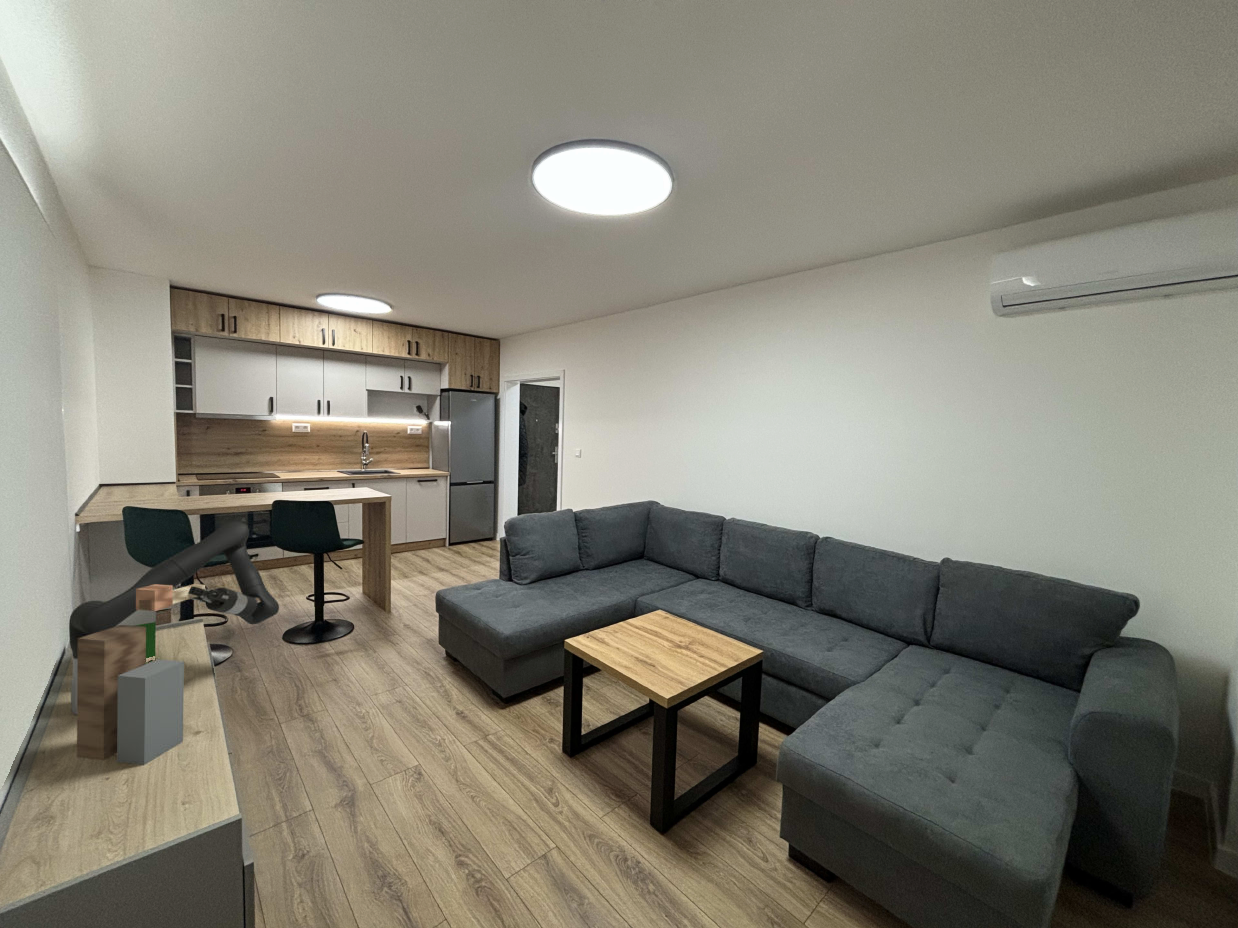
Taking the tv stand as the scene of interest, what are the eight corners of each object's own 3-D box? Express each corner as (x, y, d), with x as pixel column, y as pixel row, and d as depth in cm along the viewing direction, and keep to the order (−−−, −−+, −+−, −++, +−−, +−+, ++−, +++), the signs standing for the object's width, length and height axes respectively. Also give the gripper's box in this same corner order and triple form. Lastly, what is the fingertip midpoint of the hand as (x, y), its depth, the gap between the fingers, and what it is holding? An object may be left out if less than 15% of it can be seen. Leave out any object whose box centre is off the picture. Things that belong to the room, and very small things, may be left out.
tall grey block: (157, 738, 135) (158, 659, 134) (182, 741, 134) (183, 661, 134) (117, 761, 125) (117, 675, 124) (144, 764, 124) (145, 678, 124)
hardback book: (86, 675, 169) (86, 608, 168) (86, 668, 174) (86, 603, 173) (155, 660, 182) (155, 598, 182) (153, 654, 187) (154, 594, 186)
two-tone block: (190, 593, 153) (190, 574, 153) (207, 594, 152) (207, 575, 152) (135, 609, 137) (136, 589, 137) (154, 610, 136) (154, 590, 136)
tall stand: (119, 734, 136) (120, 624, 135) (144, 737, 135) (146, 626, 135) (76, 757, 126) (77, 638, 125) (103, 760, 125) (104, 640, 125)
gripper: (213, 589, 165) (169, 575, 150) (251, 591, 164) (210, 578, 149) (203, 611, 162) (156, 599, 147) (241, 613, 160) (198, 602, 145)
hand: (184, 589), depth 148 cm, fingers closed on two-tone block, 4 cm apart
